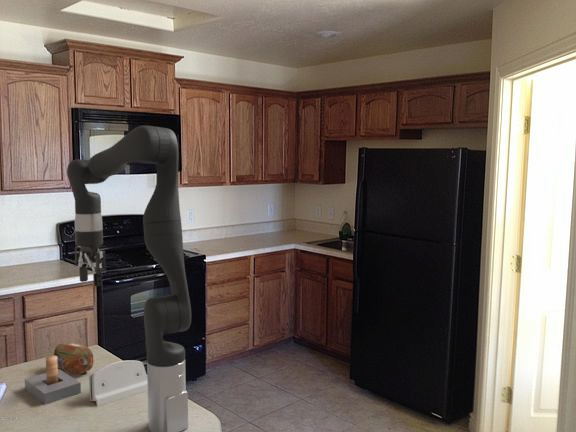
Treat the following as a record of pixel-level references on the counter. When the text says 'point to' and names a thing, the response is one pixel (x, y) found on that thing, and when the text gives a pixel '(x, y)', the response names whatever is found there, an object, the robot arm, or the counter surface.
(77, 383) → the hole block
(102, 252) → the robot arm
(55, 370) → the peg
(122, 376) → the hinge
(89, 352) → the tin
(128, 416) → the counter surface
